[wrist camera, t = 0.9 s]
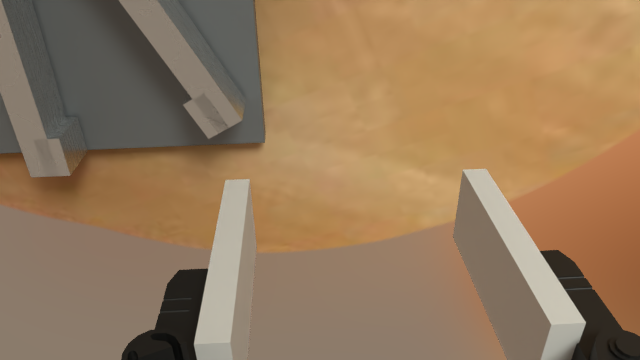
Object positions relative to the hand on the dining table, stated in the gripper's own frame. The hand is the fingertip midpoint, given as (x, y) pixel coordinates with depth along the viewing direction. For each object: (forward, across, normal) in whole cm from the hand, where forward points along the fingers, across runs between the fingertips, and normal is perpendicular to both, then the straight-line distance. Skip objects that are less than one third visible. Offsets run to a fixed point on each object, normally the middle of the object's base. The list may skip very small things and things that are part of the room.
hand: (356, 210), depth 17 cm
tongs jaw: (+16, -9, +4) cm, 19 cm away
